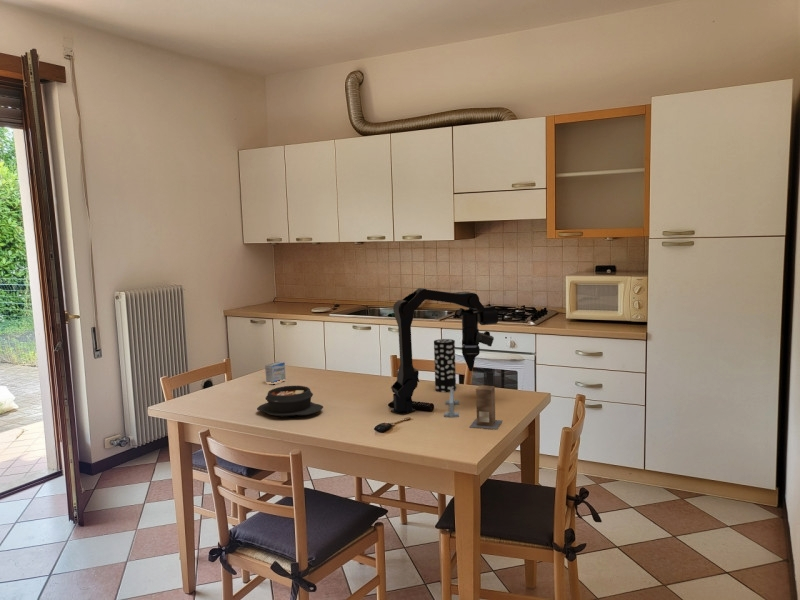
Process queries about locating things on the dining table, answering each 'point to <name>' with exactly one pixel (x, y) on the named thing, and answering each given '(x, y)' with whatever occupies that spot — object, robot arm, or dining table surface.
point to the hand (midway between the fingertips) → (470, 368)
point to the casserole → (290, 402)
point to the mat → (495, 426)
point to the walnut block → (485, 405)
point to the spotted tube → (444, 365)
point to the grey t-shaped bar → (451, 405)
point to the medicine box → (275, 372)
